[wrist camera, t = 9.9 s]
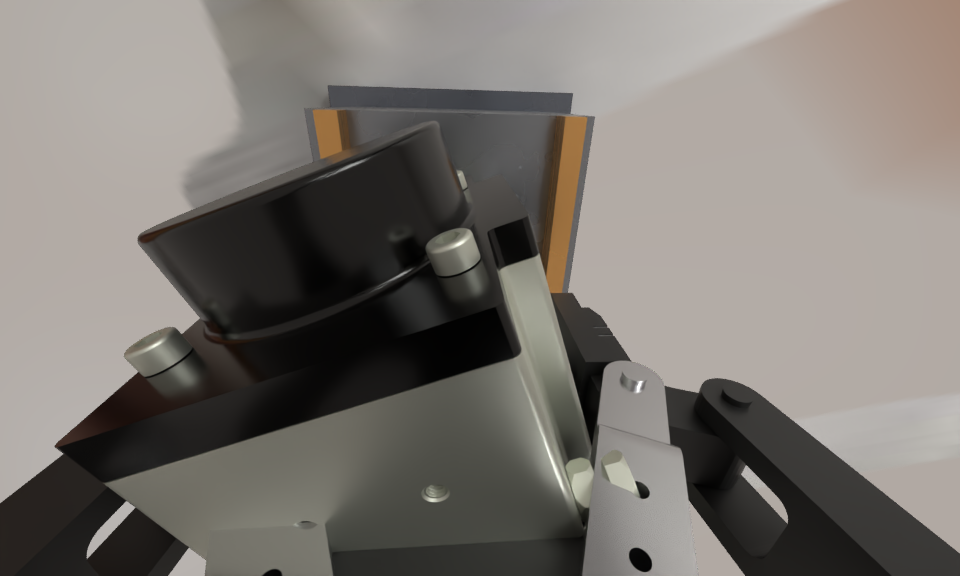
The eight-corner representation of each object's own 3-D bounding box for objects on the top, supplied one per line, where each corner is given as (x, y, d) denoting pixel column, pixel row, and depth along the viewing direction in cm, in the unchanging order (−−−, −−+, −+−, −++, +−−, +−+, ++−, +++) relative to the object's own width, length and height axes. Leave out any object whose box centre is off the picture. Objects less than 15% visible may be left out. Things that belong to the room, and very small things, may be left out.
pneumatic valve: (444, 392, 18) (433, 822, 7) (322, 154, 13) (-397, 458, 2) (552, 359, 17) (712, 768, 7) (474, 97, 12) (646, 78, 1)
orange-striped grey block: (333, 86, 21) (236, 73, 12) (567, 93, 22) (652, 87, 13) (364, 311, 28) (319, 418, 19) (541, 309, 29) (584, 410, 20)
